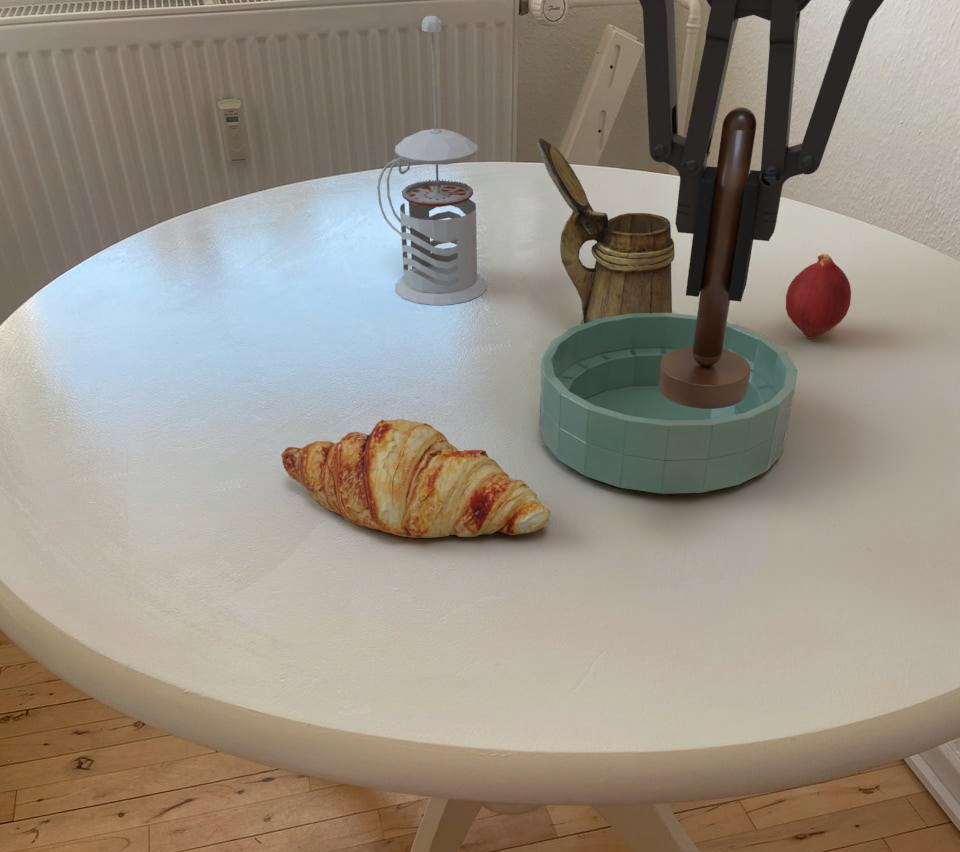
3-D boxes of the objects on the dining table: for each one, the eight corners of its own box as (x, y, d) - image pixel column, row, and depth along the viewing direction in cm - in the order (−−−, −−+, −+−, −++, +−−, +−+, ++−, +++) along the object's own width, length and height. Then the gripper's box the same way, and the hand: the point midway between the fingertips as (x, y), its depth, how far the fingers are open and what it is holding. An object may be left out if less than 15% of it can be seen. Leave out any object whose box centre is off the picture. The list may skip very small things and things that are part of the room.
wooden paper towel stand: (751, 374, 69) (799, 98, 58) (741, 414, 65) (791, 125, 54) (665, 363, 70) (697, 91, 59) (650, 402, 66) (681, 117, 55)
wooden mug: (537, 318, 105) (542, 123, 94) (675, 325, 104) (697, 127, 92) (528, 357, 99) (532, 152, 87) (674, 365, 97) (698, 158, 85)
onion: (809, 319, 105) (825, 237, 99) (854, 340, 101) (874, 256, 96) (767, 333, 102) (781, 250, 97) (811, 355, 98) (829, 270, 93)
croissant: (556, 554, 80) (576, 449, 78) (524, 570, 71) (545, 451, 69) (305, 500, 86) (318, 400, 84) (243, 508, 76) (256, 396, 74)
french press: (457, 312, 107) (449, 30, 91) (362, 290, 111) (339, 18, 95) (504, 279, 113) (505, 10, 97) (412, 259, 118) (399, 0, 101)
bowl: (789, 397, 92) (803, 326, 88) (772, 519, 78) (787, 440, 74) (568, 371, 96) (572, 302, 92) (514, 481, 82) (515, 406, 78)
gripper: (610, -217, 47) (580, 299, 62) (965, -216, 43) (841, 330, 59) (641, -221, 52) (607, 254, 68) (959, -221, 49) (847, 280, 64)
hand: (716, 289), depth 63 cm, fingers closed on wooden paper towel stand, 2 cm apart
